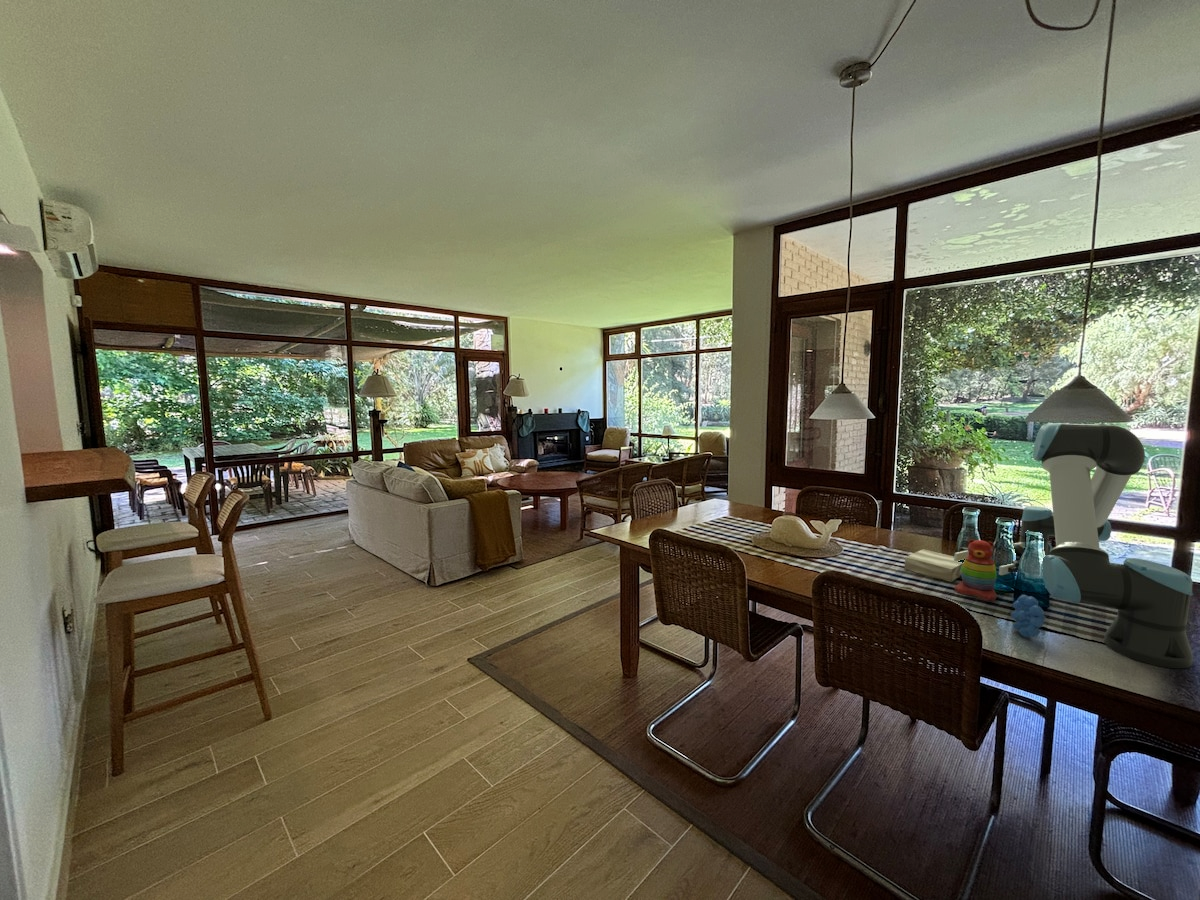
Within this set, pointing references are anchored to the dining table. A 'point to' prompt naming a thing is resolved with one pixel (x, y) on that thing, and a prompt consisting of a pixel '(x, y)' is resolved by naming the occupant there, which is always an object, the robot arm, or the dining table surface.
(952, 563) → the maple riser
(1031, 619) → the grapes
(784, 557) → the dining table surface
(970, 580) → the stacking bear
